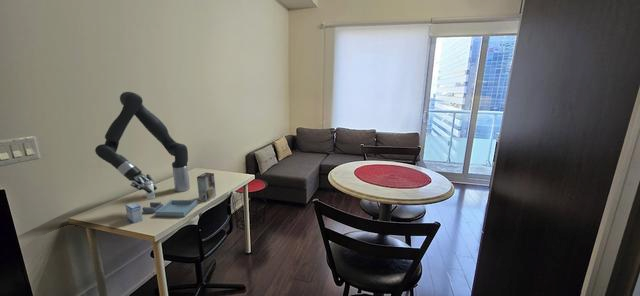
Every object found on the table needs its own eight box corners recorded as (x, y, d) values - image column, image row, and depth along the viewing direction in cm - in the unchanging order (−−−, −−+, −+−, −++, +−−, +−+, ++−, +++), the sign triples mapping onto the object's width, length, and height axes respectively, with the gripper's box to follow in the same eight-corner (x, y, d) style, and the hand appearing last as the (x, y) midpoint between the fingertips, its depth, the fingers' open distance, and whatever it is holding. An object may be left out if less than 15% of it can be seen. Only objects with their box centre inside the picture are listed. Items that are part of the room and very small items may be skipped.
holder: (151, 206, 162) (151, 202, 161) (163, 207, 162) (162, 202, 161) (143, 212, 154) (142, 208, 154) (155, 213, 154) (154, 208, 154)
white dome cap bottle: (149, 196, 159) (147, 180, 156) (156, 196, 159) (154, 180, 156) (145, 199, 155) (142, 183, 152) (152, 199, 155) (149, 183, 152)
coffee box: (207, 195, 180) (205, 172, 177) (216, 196, 179) (214, 173, 175) (198, 200, 172) (196, 176, 168) (207, 201, 170) (205, 177, 166)
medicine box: (127, 219, 147) (124, 204, 145) (136, 216, 150) (134, 201, 148) (133, 223, 143) (131, 208, 141) (143, 220, 146) (140, 205, 144)
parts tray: (171, 204, 166) (171, 199, 165) (197, 204, 166) (197, 200, 165) (155, 216, 150) (155, 211, 150) (184, 217, 150) (183, 212, 149)
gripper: (124, 170, 145) (149, 191, 148) (141, 162, 159) (164, 182, 162) (116, 179, 147) (141, 200, 149) (134, 171, 161) (157, 190, 163)
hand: (153, 190), depth 156 cm, fingers closed on white dome cap bottle, 4 cm apart
